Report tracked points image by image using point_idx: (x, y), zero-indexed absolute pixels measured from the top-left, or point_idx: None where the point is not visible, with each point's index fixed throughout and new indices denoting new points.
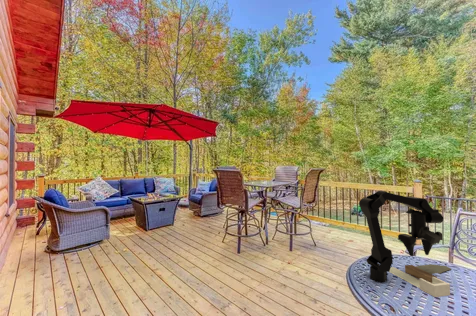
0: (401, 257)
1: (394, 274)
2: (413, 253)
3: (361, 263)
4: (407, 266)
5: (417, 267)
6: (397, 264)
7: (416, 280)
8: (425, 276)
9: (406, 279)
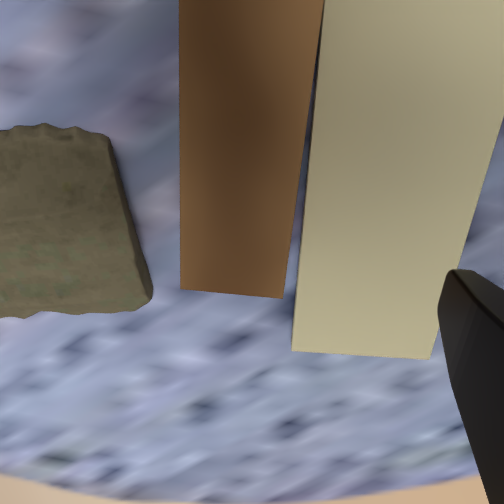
0: (9, 445)
1: (458, 245)
2: (482, 307)
3: None
4: (282, 272)
5: (55, 285)
6: (169, 379)
7: (365, 79)
8: (322, 4)
9: (458, 129)
